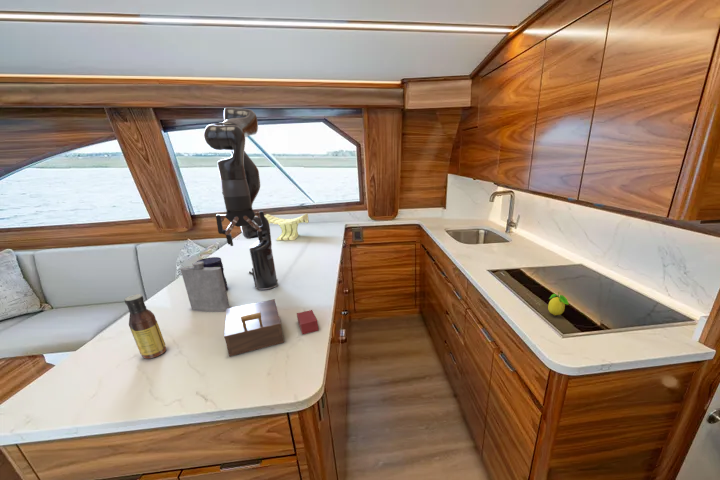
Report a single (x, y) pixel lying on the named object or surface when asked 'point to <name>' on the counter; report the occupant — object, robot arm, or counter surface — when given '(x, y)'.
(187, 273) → the hip flask
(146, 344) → the sauce bottle
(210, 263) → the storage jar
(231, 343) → the chest
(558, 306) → the lemon
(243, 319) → the chest lid
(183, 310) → the counter surface
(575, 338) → the counter surface
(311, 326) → the book
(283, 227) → the slatted curved stool
